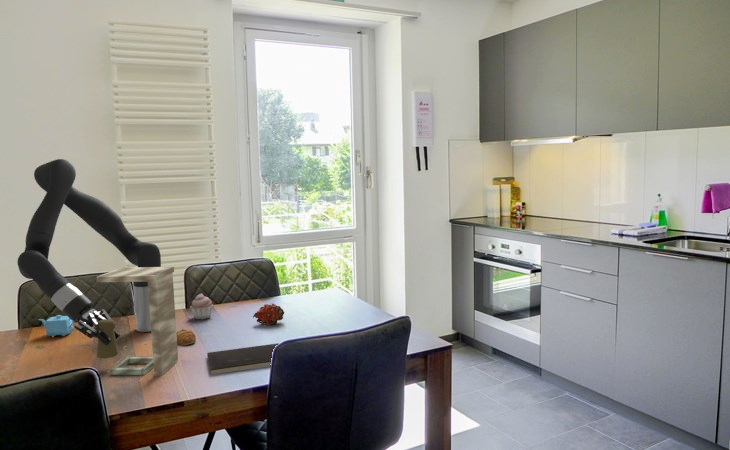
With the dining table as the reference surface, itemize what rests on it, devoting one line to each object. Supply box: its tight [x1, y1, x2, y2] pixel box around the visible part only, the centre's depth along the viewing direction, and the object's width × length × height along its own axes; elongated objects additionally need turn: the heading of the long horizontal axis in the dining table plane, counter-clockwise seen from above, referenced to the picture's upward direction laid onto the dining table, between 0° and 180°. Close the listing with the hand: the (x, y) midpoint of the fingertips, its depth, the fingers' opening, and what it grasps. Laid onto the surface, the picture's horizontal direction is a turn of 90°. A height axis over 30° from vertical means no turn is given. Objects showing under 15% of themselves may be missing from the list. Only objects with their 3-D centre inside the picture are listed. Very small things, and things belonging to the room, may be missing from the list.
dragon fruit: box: [252, 303, 285, 326], centre depth 210 cm, size 8×8×12 cm
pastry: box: [176, 328, 197, 346], centre depth 191 cm, size 9×7×4 cm
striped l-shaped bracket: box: [96, 266, 179, 377], centre depth 165 cm, size 17×14×30 cm
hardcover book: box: [207, 342, 280, 375], centre depth 171 cm, size 16×23×2 cm
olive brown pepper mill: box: [96, 318, 119, 359], centre depth 166 cm, size 6×6×11 cm
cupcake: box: [189, 293, 214, 320], centre depth 221 cm, size 9×9×10 cm
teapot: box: [38, 314, 75, 337], centre depth 202 cm, size 12×6×8 cm, turn 102°
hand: (113, 340), depth 166 cm, fingers closed on olive brown pepper mill, 4 cm apart
